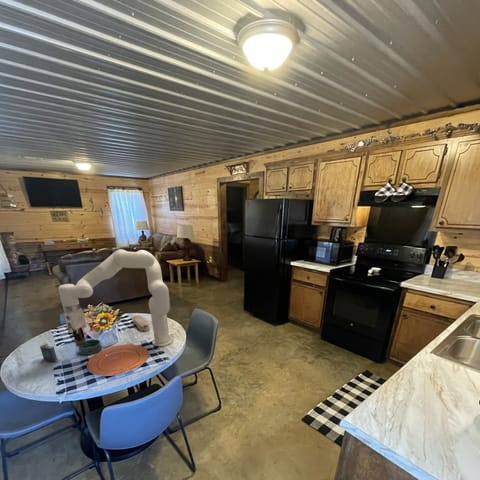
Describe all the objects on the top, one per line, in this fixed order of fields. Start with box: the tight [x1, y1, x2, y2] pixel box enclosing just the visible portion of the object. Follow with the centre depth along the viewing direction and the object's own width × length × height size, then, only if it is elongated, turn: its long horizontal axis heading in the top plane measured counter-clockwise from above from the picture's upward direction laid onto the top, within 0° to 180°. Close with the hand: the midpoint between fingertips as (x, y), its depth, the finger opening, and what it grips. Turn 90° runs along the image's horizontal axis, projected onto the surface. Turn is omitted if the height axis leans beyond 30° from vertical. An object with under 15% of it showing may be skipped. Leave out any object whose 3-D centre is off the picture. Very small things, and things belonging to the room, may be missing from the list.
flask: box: [39, 343, 58, 363], centre depth 151 cm, size 9×3×11 cm, turn 74°
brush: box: [73, 328, 87, 348], centre depth 146 cm, size 6×6×10 cm
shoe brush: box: [131, 315, 150, 332], centre depth 197 cm, size 24×8×5 cm, turn 37°
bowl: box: [77, 339, 103, 356], centre depth 163 cm, size 12×12×4 cm
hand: (79, 338), depth 146 cm, fingers closed on brush, 2 cm apart
